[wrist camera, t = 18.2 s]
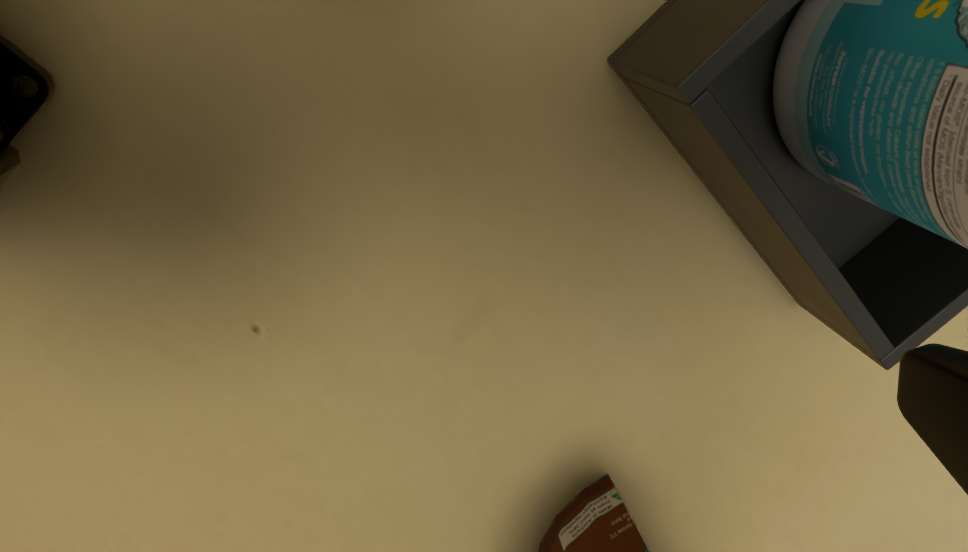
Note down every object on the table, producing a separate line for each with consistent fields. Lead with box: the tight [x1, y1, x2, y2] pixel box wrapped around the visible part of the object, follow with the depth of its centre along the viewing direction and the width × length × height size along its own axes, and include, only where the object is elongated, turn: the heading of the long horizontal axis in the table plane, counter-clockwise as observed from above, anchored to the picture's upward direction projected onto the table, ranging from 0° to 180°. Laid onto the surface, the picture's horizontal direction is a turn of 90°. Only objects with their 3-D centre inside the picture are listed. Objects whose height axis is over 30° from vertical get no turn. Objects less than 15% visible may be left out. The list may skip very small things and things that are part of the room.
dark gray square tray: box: [607, 0, 968, 370], centre depth 20 cm, size 12×12×4 cm
